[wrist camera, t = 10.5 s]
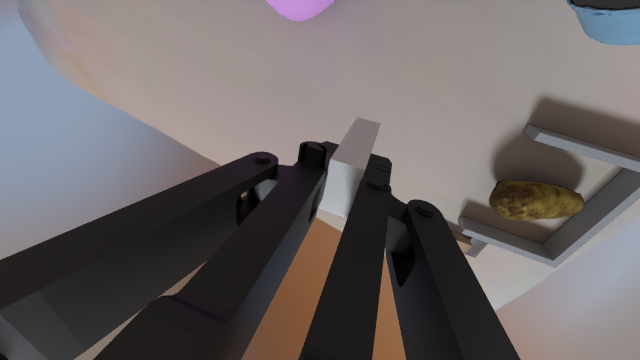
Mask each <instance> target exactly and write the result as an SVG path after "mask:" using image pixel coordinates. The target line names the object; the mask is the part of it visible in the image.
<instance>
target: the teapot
mask: <svg viewBox="0 0 640 360" xmlns="http://www.w3.org/2000/svg"><path fill="white" fill-rule="evenodd" d="M266 1H267V2H268V3H269V4H270V5H271V6H272V7H273V8H274V9H275V10H276V11H277V12H279V13H280V14H281V15H283V16H285V17H286V18H288V19H290V20H294V21H305V20H308V19H310V18H312V17H314V16H316V15H317V14H319V13H320V12H322V11H323V10H324V9H326V8H327V7H328V6H329V5H331V4H332V3H333V2H334V1H335V0H266Z"/></svg>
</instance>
